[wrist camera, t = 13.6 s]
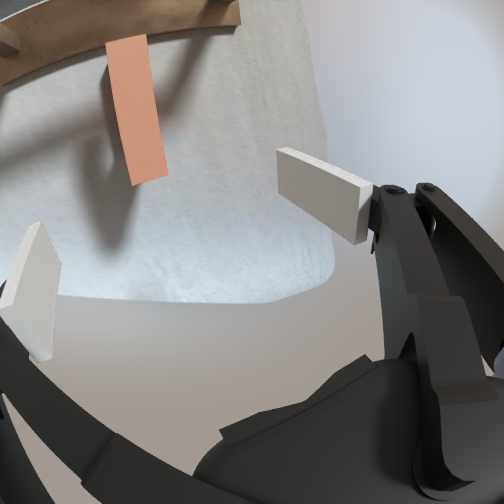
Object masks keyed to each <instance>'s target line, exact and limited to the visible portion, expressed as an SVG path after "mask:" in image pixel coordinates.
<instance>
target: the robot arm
mask: <svg viewBox="0 0 504 504" xmlns="http://www.w3.org/2000/svg"><path fill="white" fill-rule="evenodd" d="M276 156H277V173H278V191H279V194H280V195H282V196H283V197H285V198H286V199H288V200H289V201H291V202H293V203H294V204H296V205H297V206H299V207H300V208H301V209H303V210H304V211H306V212H307V213H309V214H310V215H312V216H313V217H315V218H316V219H318V220H319V221H321V222H322V223H323V224H325V225H326V226H328V227H329V228H331V229H332V230H333V231H335V232H336V233H338V234H339V235H341V236H342V237H343V238H345V239H346V240H348V241H349V242H350V243H352V244H353V245H357V244H359V243H362V242H364V241H366V240H367V234H368V228H369V229H371V230H372V231H374V236H373V243H372V249H371V254H373V252H374V251H375V255H376V263H377V270H378V278H379V287H380V297H381V307H382V317H383V331H384V348H385V358H384V360H379V361H374V362H372V361H371V360H370V359H369V358H368V357H367V356H366V355H365V354H364V355H363V356H361V357H360V358H358V359H356V360H355V361H353V362H352V363H350V364H348V365H347V366H345V367H343V368H342V369H340V370H338V371H337V372H335V373H334V374H333V375H332V376H331V377H330V378H329V379H328V380H327V381H326V382H325V383H324V384H323V385H322V386H321V387H320V388H319V389H318V390H317V391H316V392H315V393H314V394H312V395H311V396H310V397H309V398H308V399H307V400H305V401H303V402H300V403H297V404H293V405H289V406H285V407H281V408H277V409H272V410H268V411H263V412H259V413H257V414H254V415H252V416H250V417H248V418H245V419H243V420H241V421H238V422H236V423H234V424H231V425H229V426H227V427H224V428H222V429H219V431H220V433H221V435H222V437H223V440H221V441H220V442H219V443H217V444H216V445H215V446H214V447H213V448H212V449H210V450H209V451H208V452H207V453H206V455H205V456H204V457H203V458H202V459H201V461H200V462H199V464H198V466H197V467H196V469H195V471H194V473H193V476H190V475H188V474H186V473H184V472H182V471H180V470H178V469H176V468H174V467H173V466H171V465H169V464H167V463H165V462H164V461H162V460H160V459H158V458H157V457H155V456H153V455H151V454H150V453H148V452H146V451H145V450H143V449H141V448H140V447H138V446H137V445H135V444H133V443H132V442H130V441H129V440H127V439H126V438H124V437H123V436H121V435H120V434H118V433H115V432H113V431H112V430H110V429H109V428H108V427H106V426H105V425H104V424H102V423H101V422H99V421H98V420H97V419H95V418H94V417H93V416H92V415H90V414H89V413H88V412H86V411H85V410H84V409H83V408H82V407H80V406H79V405H78V404H77V403H75V402H74V401H73V400H72V399H71V398H70V397H68V396H67V395H66V394H65V393H63V391H62V390H60V389H59V388H58V387H57V386H56V385H55V384H54V383H53V382H52V381H50V380H49V379H48V378H47V377H46V376H45V375H44V374H43V373H42V372H41V371H40V370H39V369H38V368H37V367H36V366H35V365H34V364H33V363H32V362H31V361H30V360H29V354H30V355H31V356H32V358H33V359H34V360H35V361H36V362H37V363H41V362H44V361H47V360H50V359H52V358H53V337H54V322H55V311H56V301H57V293H58V285H59V278H60V271H61V265H62V264H61V262H60V260H59V258H58V256H57V254H56V252H55V250H54V247H53V245H52V243H51V241H50V238H49V236H48V234H47V231H46V229H45V227H44V224H43V222H42V220H41V221H38V222H36V223H34V224H31V225H30V226H29V228H28V230H27V232H26V234H25V237H24V239H23V241H22V243H21V246H20V248H19V250H18V253H17V255H16V258H15V260H14V262H13V265H12V268H11V270H10V273H9V276H8V278H7V280H5V282H4V283H3V284H2V286H1V287H0V504H55V503H54V501H53V500H52V498H51V496H50V495H49V493H48V492H47V490H46V489H45V487H44V485H43V483H42V482H41V480H40V478H39V477H38V475H37V473H36V471H35V469H34V468H33V466H32V464H31V462H30V460H29V458H28V456H27V454H26V452H25V450H24V448H23V446H22V444H21V442H20V439H19V437H18V435H17V433H16V430H15V428H14V426H13V423H12V421H11V419H10V416H9V413H8V411H7V408H6V405H5V403H4V400H3V397H2V393H4V394H5V395H6V397H7V398H8V399H9V401H10V402H11V403H12V405H13V406H14V407H15V409H16V410H17V411H18V413H19V414H20V415H21V416H22V417H23V419H24V420H25V421H26V423H27V424H28V425H29V426H30V427H31V428H32V430H33V431H34V432H35V433H36V434H37V435H38V437H39V438H40V439H41V440H42V441H43V442H44V443H45V444H46V445H47V446H48V447H49V449H51V451H52V452H54V454H55V455H56V456H57V457H58V458H59V459H60V460H61V461H62V462H63V463H64V464H65V465H67V467H69V468H70V469H71V470H72V471H73V472H74V473H75V474H76V475H77V476H78V477H79V478H80V479H81V480H82V482H81V485H82V486H83V488H85V489H86V490H87V491H88V492H89V493H90V494H91V495H92V496H93V497H95V498H96V499H97V500H98V501H100V502H101V503H102V504H504V251H503V250H502V249H501V248H500V247H499V245H498V244H497V243H496V242H495V241H494V240H493V239H492V238H491V237H490V236H489V235H488V234H487V233H486V232H485V231H484V230H483V229H482V228H481V227H480V226H479V225H478V224H477V223H476V222H475V221H474V220H473V219H472V218H471V217H470V216H469V215H468V214H467V213H466V212H465V211H464V210H463V209H462V208H461V207H460V206H459V205H458V204H457V203H455V202H454V201H453V200H452V199H451V198H450V197H449V196H448V195H447V194H445V193H444V192H443V191H442V190H441V189H440V188H438V187H437V186H434V185H433V184H431V183H418V184H417V185H416V191H415V193H411V194H408V193H407V191H406V190H405V189H404V188H401V187H398V186H396V185H384V186H381V187H380V188H379V187H377V186H375V185H373V184H372V183H370V182H368V181H366V180H364V179H362V178H359V177H357V176H355V175H353V174H351V173H349V172H346V171H344V170H342V169H339V168H337V167H335V166H333V165H330V164H328V163H326V162H323V161H321V160H319V159H316V158H314V157H311V156H309V155H306V154H304V153H301V152H299V151H296V150H294V149H291V148H288V147H286V148H281V149H276ZM435 221H436V227H435V230H434V225H435ZM481 355H482V357H483V358H484V360H485V361H486V363H487V364H488V366H489V367H490V368H491V369H492V371H493V372H494V375H493V376H492V377H491V376H486V374H485V370H484V365H483V361H482V357H481Z"/></svg>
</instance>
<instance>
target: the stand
mask: <svg viewBox="0 0 504 504" xmlns="http://www.w3.org/2000/svg"><path fill="white" fill-rule="evenodd" d="M41 1H43V0H0V20H1V19H3V18H5V17H7V16H9V15H11V14H13V13H15V12H18V11H20V10H22V9H24V8H26V7H29V6H31V5H33V4H36V3H38V2H41ZM239 25H241V19H240V11H239V2H238V0H49V1H47V2H44V3H42V4H39V5H37V6H34V7H32V8H30V9H27V10H25V11H23V12H21V13H18V14H16V15H14V16H12V17H10V18H8V19H6V20H4V21H2V22H0V86H4V85H6V84H8V83H10V82H12V81H14V80H16V79H18V78H20V77H22V76H25V75H27V74H29V73H31V72H34V71H36V70H38V69H41V68H43V67H45V66H48V65H50V64H53V63H56V62H58V61H61V60H64V59H66V58H69V57H72V56H75V55H78V54H81V53H84V52H87V51H91V50H94V49H97V48H101V47H104V46H106V44H105V43H108V42H111V41H115V40H120V39H124V38H128V37H133V36H138V35H143V34H146V37H147V36H153V35H158V34H164V33H171V32H178V31H185V30H194V29H204V28H216V27H235V26H239Z"/></svg>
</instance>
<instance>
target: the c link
mask: <svg viewBox="0 0 504 504" xmlns="http://www.w3.org/2000/svg"><path fill="white" fill-rule="evenodd" d="M105 44H106V52H107V61H108V68H109V75H110V82H111V88H112V94H113V100H114V106H115V111H116V116H117V122H118V127H119V131H120V136H121V141H122V146H123V150H124V155H125V159H126V163H127V167H128V171H129V175H130V179H131V183H132V186H133V185H136V184H140V183H143V182H146V181H150V180H153V179H156V178H160V177H163V176H167V175H169V174H168V169H167V164H166V159H165V154H164V149H163V143H162V138H161V133H160V127H159V121H158V115H157V109H156V103H155V97H154V90H153V84H152V77H151V69H150V62H149V54H148V46H147V38H146V34H143V35H138V36H133V37H128V38H124V39H120V40H115V41H111V42H108V43H105Z"/></svg>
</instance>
